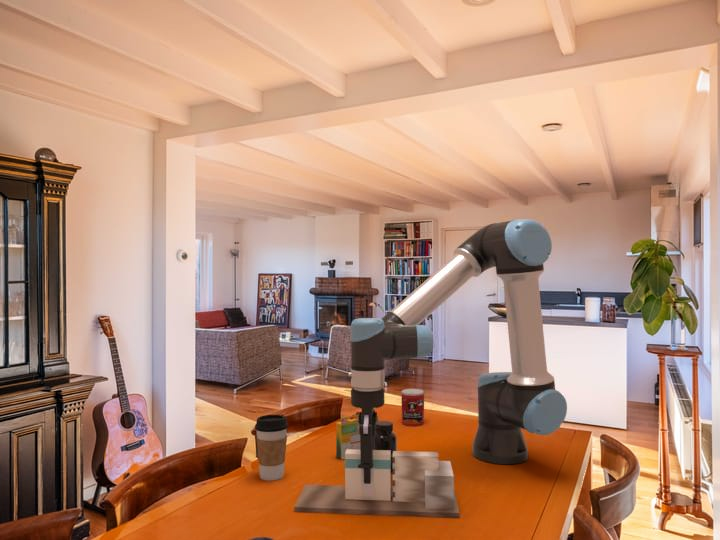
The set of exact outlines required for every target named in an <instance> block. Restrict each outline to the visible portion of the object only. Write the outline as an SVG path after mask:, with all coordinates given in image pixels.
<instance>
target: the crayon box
mask: <svg viewBox="0 0 720 540" xmlns="http://www.w3.org/2000/svg"><path fill="white" fill-rule="evenodd" d="M353 415H354V414H353ZM358 416H359V415H354V416H352V415H349V416H343V417H340V421H337V422H335V441H336V442H335V447H336V448H335V450H336V452H335V453H336V459H338V460H340V461H343V460H344V461H345V453H346V450H347V449H354V450H360V434H359V422H358ZM350 418H356V419H352V420H350Z"/></svg>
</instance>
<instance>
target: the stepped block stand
mask: <svg viewBox="0 0 720 540" xmlns="http://www.w3.org/2000/svg"><path fill="white" fill-rule="evenodd" d="M454 479H455V476H454V471H453V467H452V463H451V460H439V452H438V451H413V450H412V451H410V450H397V451H393V472H392V486H391V501H383V500H354V499H345V485H331V484H330V485H329V484H328V485H326V484H325V485H324V484H304V486H303V489H302V490H301V493H300V495H299V496H298V499H297V500H296V503H295V505H294V506H293V512H295V511H296V512H295V513H317V514H319V513H320V514H347V515H371V516H372V515H373V516H401V517H402V516H404V517H424V518H425V517H427V518H428V517H430V518H451V519H452V518H453V519H454V518H455V519H457V518H458V519H459V518H460V517H461V516H460V508H459V505H458V500H457V496H456V492H455V482H454V481H455V480H454Z"/></svg>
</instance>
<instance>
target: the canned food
mask: <svg viewBox="0 0 720 540" xmlns="http://www.w3.org/2000/svg"><path fill="white" fill-rule="evenodd" d="M400 397H401V422H402V424H403V425H404V426H407V427H421V426H423V425H424V422H425V391H424V390H423V389H418V388H406V389H402V390H401V396H400Z"/></svg>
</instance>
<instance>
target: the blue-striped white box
mask: <svg viewBox="0 0 720 540" xmlns="http://www.w3.org/2000/svg"><path fill="white" fill-rule="evenodd" d="M360 464H361V452H360V450H354V449H347V450H346V453H345V459H344V477H345V478H344V486H345V499H354V500H383V501H391V487H392V474H391V473H392V472H391V450H373V466H374V498H372V497H361V468H358V465H360Z"/></svg>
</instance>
